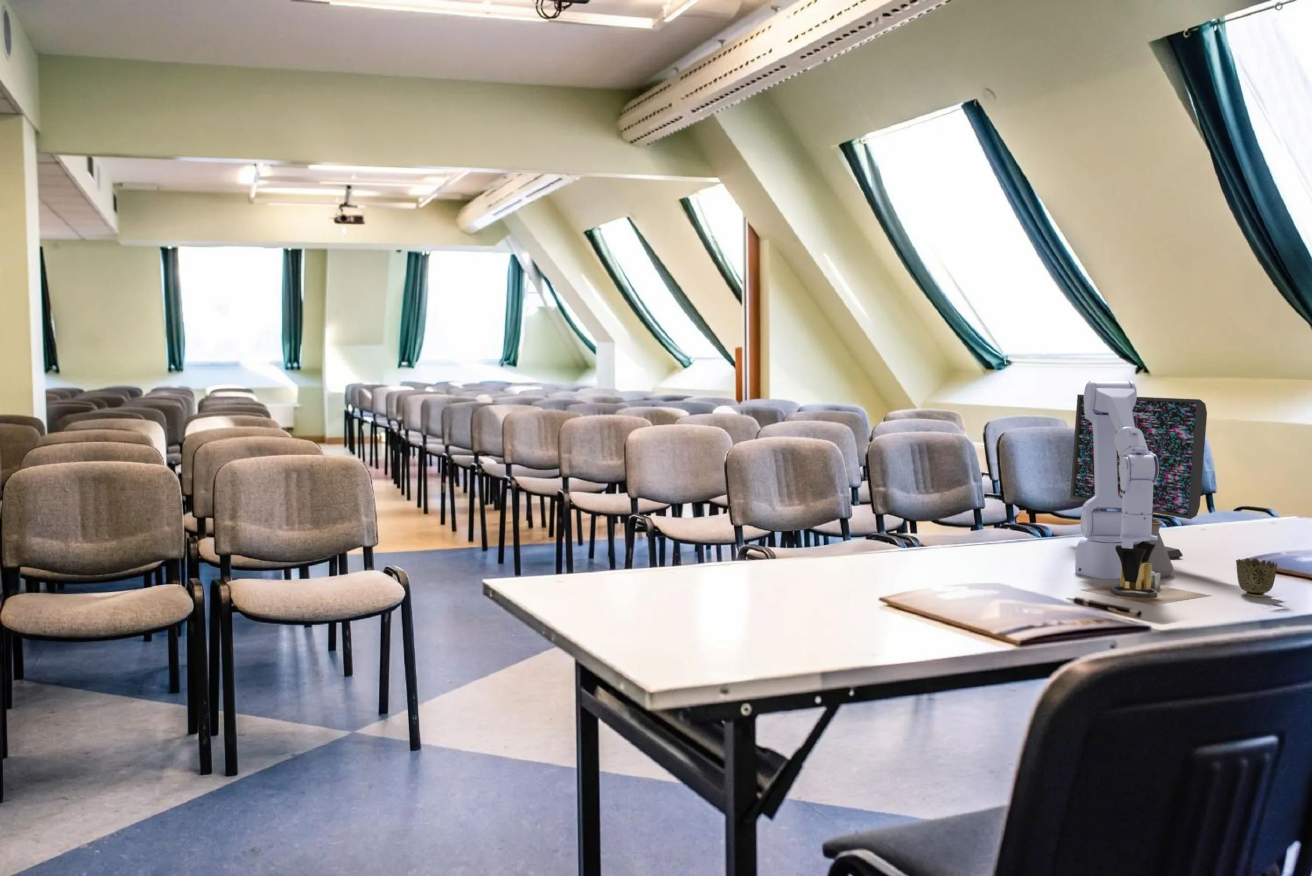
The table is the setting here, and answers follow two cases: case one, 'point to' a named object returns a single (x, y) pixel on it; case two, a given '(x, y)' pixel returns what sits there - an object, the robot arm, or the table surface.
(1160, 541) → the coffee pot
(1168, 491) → the computer monitor
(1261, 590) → the cup
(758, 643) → the table surface
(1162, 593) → the carrier plate
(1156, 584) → the sun gear
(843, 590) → the table surface
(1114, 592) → the ring
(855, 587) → the table surface
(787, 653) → the table surface
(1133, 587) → the planet gear
